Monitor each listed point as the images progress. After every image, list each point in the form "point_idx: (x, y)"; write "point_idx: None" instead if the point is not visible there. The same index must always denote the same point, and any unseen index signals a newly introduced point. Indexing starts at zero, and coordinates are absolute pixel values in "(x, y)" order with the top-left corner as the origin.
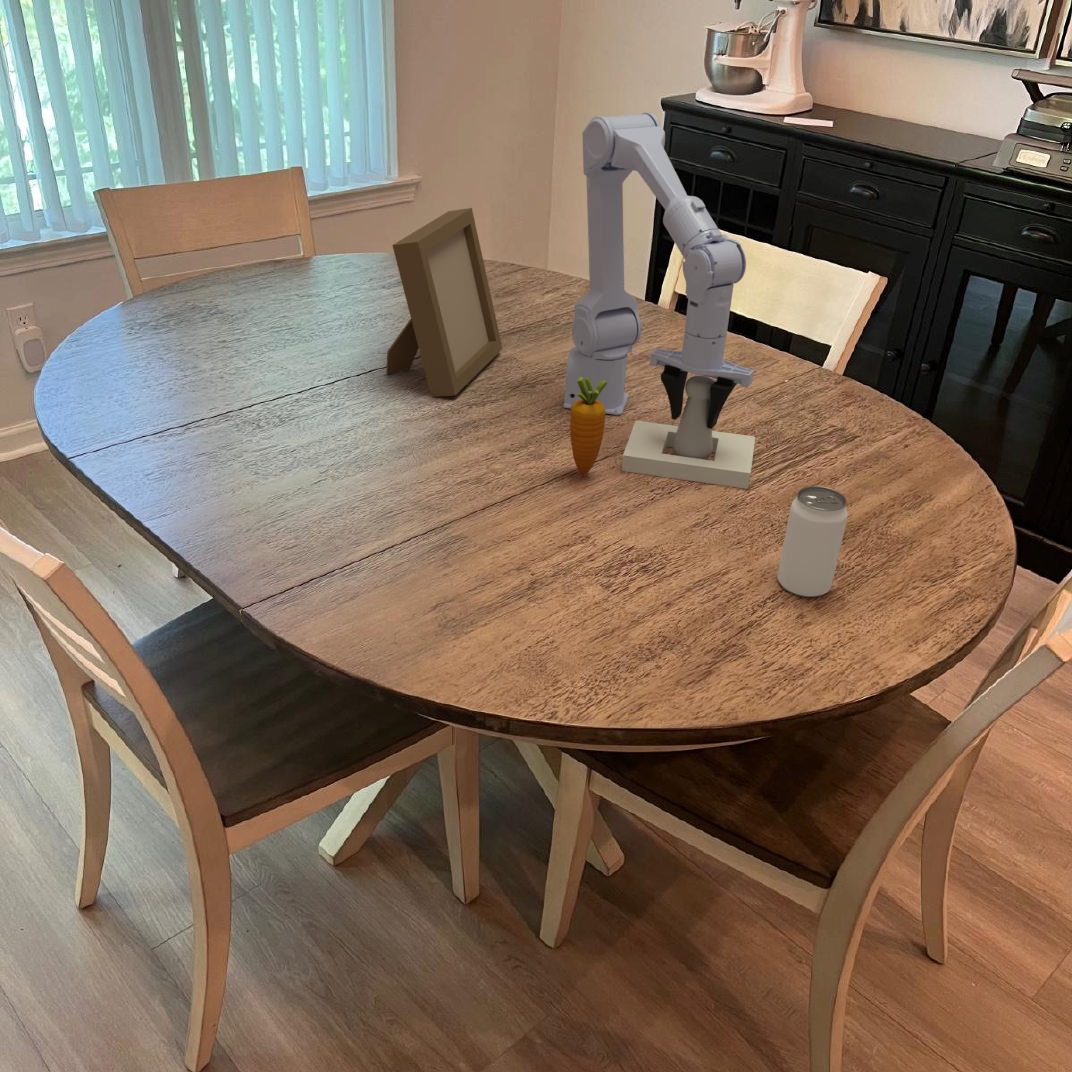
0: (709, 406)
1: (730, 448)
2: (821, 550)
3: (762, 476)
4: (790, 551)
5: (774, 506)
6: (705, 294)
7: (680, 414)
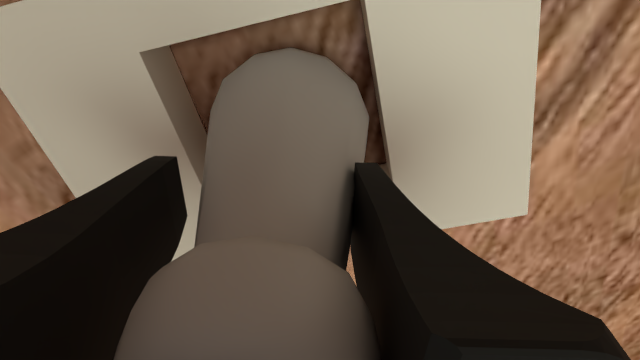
0: (342, 266)
1: (435, 73)
2: None
3: (551, 82)
4: None
5: (579, 229)
6: None
7: (176, 164)
